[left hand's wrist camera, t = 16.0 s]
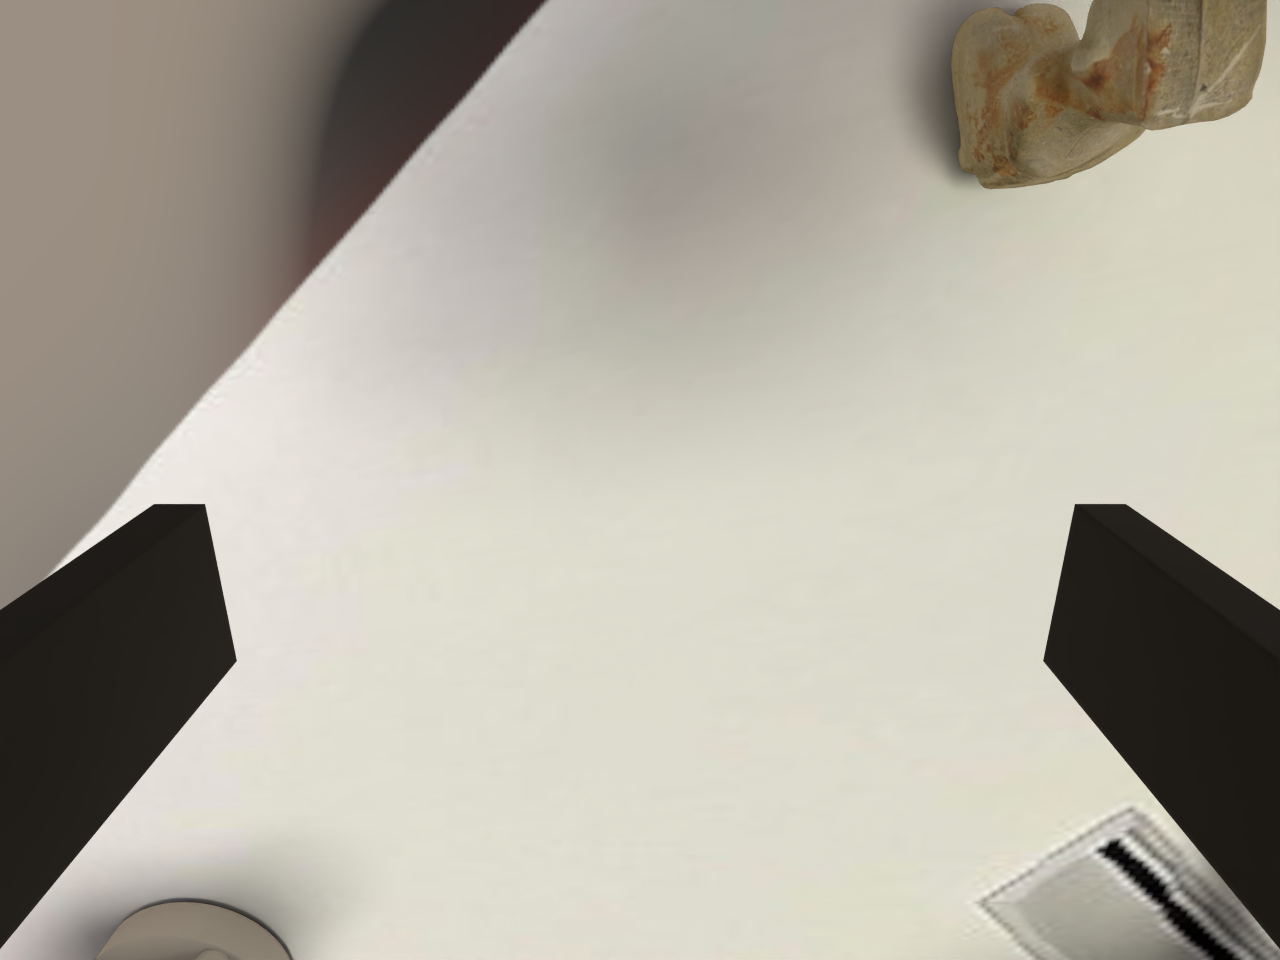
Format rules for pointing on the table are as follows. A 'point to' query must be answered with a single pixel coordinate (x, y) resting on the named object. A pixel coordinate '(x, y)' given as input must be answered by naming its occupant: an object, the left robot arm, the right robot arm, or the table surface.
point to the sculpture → (1095, 80)
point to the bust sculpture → (190, 935)
